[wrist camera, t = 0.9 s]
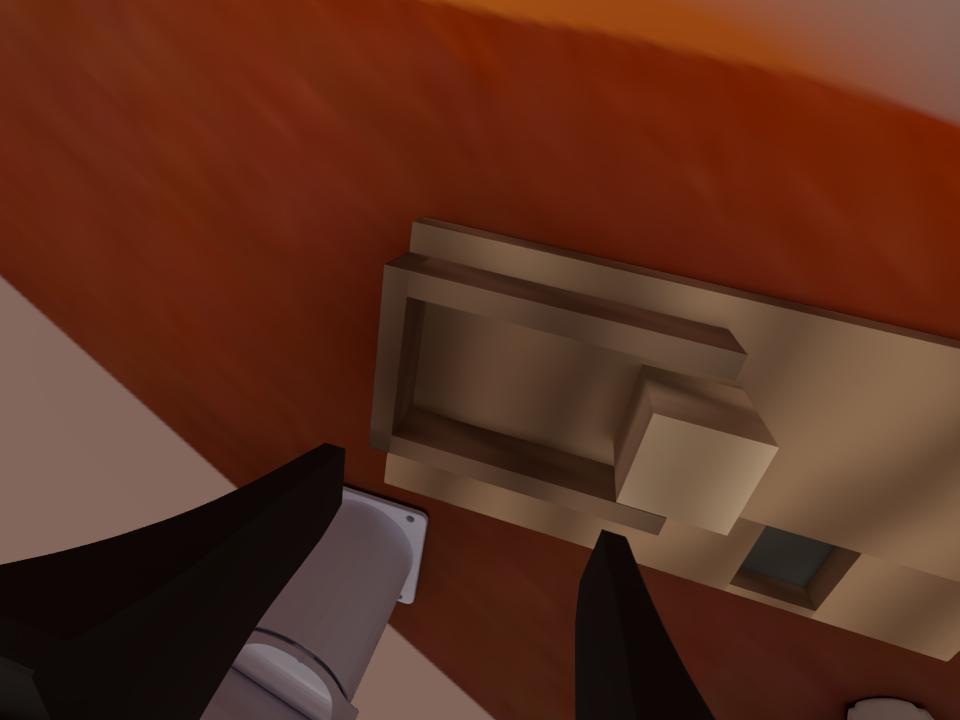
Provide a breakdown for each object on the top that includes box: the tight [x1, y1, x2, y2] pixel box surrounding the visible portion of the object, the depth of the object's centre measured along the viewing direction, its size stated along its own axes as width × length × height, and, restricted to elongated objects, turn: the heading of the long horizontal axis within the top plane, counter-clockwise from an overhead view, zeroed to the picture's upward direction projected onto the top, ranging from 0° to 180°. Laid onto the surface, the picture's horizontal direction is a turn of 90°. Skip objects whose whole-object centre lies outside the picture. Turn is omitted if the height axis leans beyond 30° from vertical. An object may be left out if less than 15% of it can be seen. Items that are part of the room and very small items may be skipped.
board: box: [384, 217, 960, 661], centre depth 19 cm, size 28×14×4 cm, turn 80°
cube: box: [613, 364, 779, 536], centre depth 17 cm, size 4×4×4 cm
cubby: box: [369, 252, 748, 536], centre depth 19 cm, size 13×8×2 cm, turn 80°
